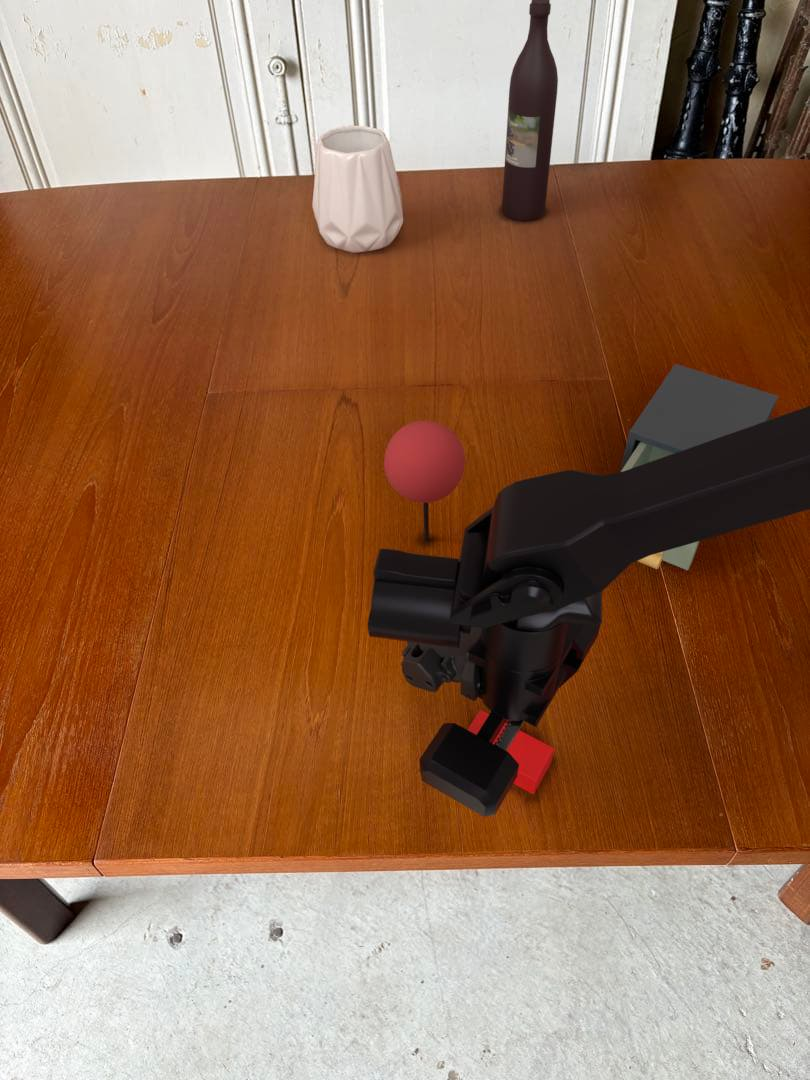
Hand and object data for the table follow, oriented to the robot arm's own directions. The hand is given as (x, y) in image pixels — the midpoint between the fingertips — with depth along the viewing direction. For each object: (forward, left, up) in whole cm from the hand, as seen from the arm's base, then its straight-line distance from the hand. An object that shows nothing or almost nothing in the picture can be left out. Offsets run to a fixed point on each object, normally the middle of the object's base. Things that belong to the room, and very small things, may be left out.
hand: (507, 745), depth 68 cm
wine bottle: (+43, -88, -3) cm, 98 cm away
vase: (+62, -68, -3) cm, 92 cm away
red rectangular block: (0, 0, -2) cm, 2 cm away
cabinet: (-1, -42, -2) cm, 43 cm away
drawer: (-1, -31, -1) cm, 31 cm away
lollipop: (+19, -18, -3) cm, 26 cm away
